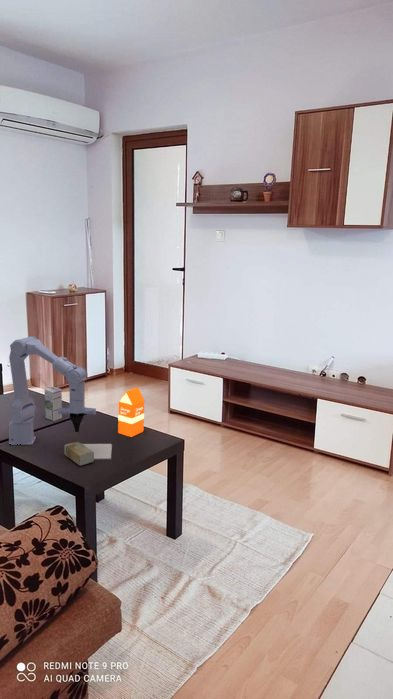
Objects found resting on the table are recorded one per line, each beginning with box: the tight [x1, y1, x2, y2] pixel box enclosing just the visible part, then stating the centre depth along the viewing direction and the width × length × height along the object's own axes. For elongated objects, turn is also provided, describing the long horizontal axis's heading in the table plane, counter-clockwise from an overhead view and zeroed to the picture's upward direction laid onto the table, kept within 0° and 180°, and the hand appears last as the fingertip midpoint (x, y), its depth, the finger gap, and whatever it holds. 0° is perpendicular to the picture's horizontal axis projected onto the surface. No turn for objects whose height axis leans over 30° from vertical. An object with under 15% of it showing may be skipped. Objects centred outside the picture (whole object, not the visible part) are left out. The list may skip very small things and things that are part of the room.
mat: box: [82, 443, 113, 460], centre depth 204 cm, size 14×14×1 cm
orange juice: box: [117, 387, 145, 438], centre depth 224 cm, size 8×9×20 cm
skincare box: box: [63, 441, 95, 467], centre depth 196 cm, size 6×4×12 cm
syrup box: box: [44, 386, 63, 422], centre depth 236 cm, size 6×6×14 cm
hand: (77, 431), depth 201 cm, fingers closed
